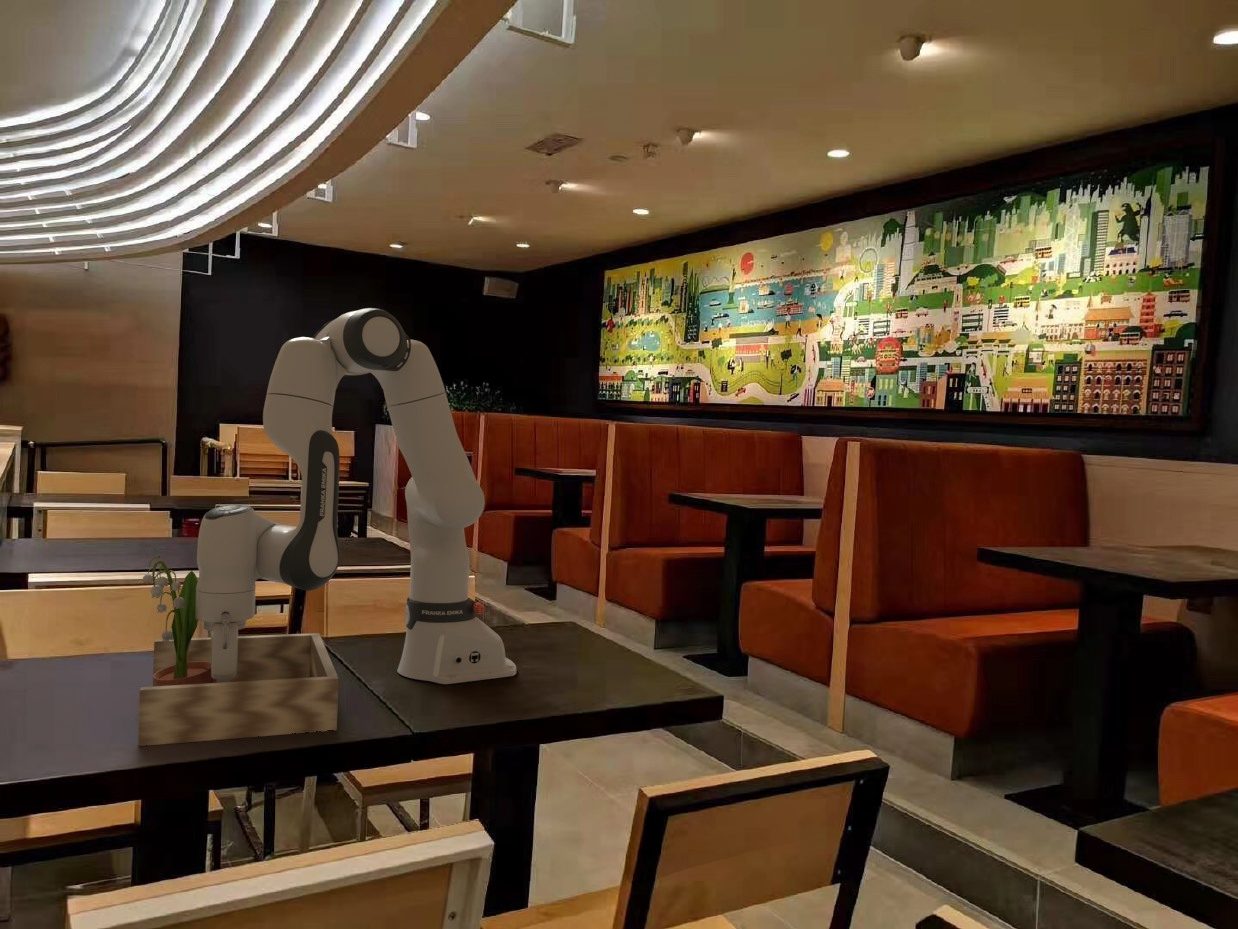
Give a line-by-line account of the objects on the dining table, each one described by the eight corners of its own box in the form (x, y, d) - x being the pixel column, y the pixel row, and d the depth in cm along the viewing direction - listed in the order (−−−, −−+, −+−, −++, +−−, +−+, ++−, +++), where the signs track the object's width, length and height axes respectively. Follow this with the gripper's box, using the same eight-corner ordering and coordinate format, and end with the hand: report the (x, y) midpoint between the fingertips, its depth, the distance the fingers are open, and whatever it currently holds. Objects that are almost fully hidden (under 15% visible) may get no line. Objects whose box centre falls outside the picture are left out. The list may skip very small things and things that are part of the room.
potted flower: (197, 720, 140) (176, 560, 137) (133, 724, 140) (110, 564, 137) (231, 691, 152) (213, 543, 149) (172, 694, 152) (152, 547, 149)
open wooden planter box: (317, 676, 169) (319, 633, 168) (336, 730, 140) (338, 678, 140) (153, 685, 158) (154, 639, 158) (138, 746, 130) (139, 690, 129)
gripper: (248, 619, 139) (245, 709, 140) (245, 594, 158) (242, 673, 158) (202, 621, 137) (199, 712, 137) (204, 595, 155) (202, 676, 156)
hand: (222, 691), depth 148 cm, fingers closed
